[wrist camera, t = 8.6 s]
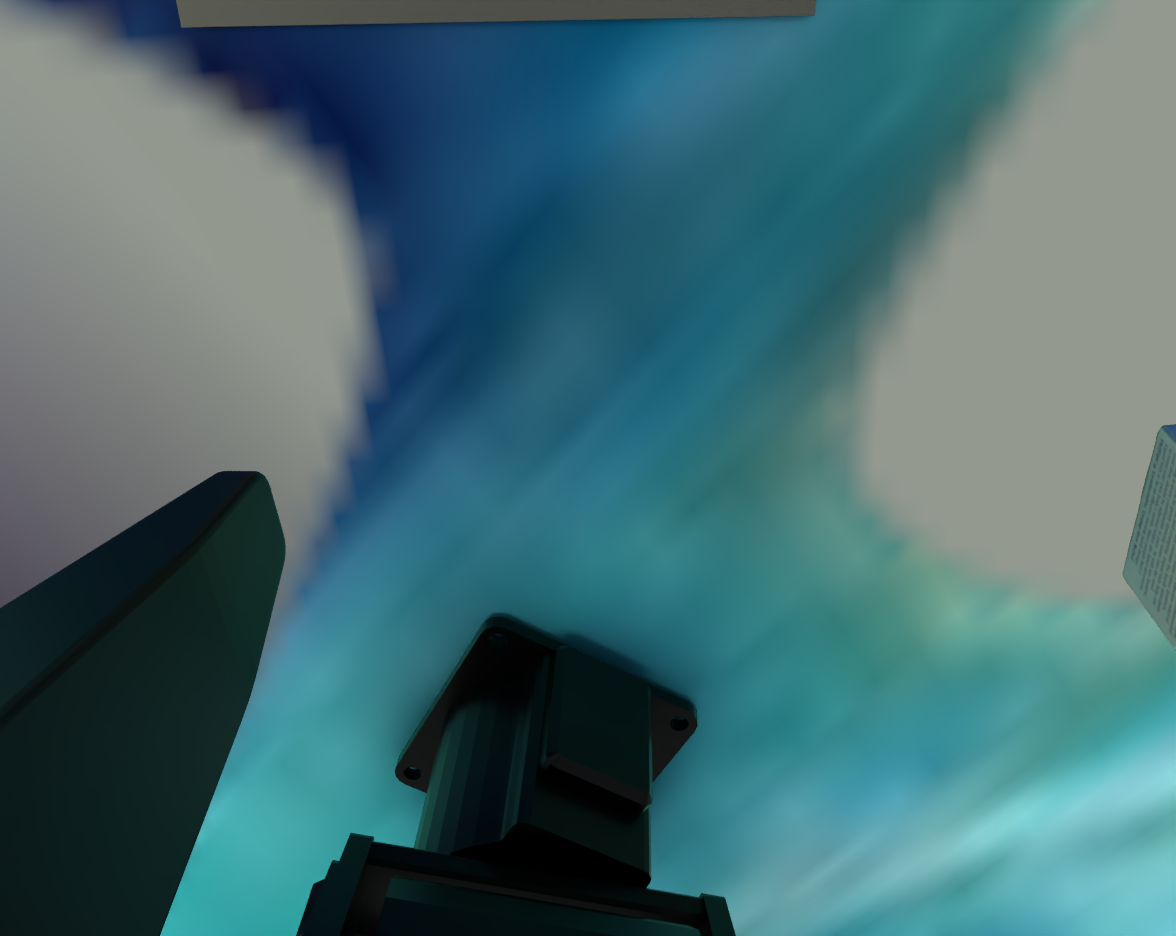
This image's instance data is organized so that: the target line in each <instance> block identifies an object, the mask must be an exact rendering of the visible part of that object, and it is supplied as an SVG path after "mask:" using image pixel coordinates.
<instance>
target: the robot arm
mask: <svg viewBox="0 0 1176 936" xmlns="http://www.w3.org/2000/svg"><path fill="white" fill-rule="evenodd" d="M284 561H285V539H284V534H283V531H282V527H281V523H280V520H279V516H278V513H277V509H276V506H275V502H274V499H273V495H272V492H271V488H270V485H269V483H268V481H267V479H266V477H265V476H264V475H263V474H261V473H260V472H257V471H222V472H218V473H216V474H214V475H213V476H212V477H210V478H208V479H206V480H205V481H203V482H202V483H200V484H198V485H197V486H195V487H194V488H192V489H190V490H189V491H187V492H186V493H184V494H182V495H181V496H179V497H177V498H176V499H174V500H173V501H171V502H169V503H168V504H167V505H165V506H163V507H161V508H160V509H158V510H157V511H155V512H153V513H152V514H150V515H149V516H147V517H145V518H144V519H142V520H141V521H139V522H137V523H136V524H134V525H133V526H131V527H129V528H128V529H126V530H125V531H123V532H121V533H120V534H118V535H117V536H115V537H113V538H112V539H110V540H109V541H107V542H105V543H104V544H102V545H100V546H99V547H97V548H96V549H94V550H93V551H91V552H89V553H88V554H86V555H84V556H83V557H81V558H80V559H78V560H76V561H75V562H73V563H72V564H70V565H68V566H67V567H66V568H64V569H62V570H60V571H59V572H57V573H56V574H54V575H53V576H51V577H49V578H48V579H46V580H44V581H43V582H41V583H40V584H38V585H36V586H35V587H33V588H32V589H30V590H28V591H27V592H25V593H23V594H22V595H20V596H19V597H17V598H16V599H14V600H12V601H11V602H9V603H7V604H6V605H4V606H3V607H1V608H0V936H160V934H161V931H162V929H163V926H164V923H165V921H166V918H167V915H168V913H169V910H170V908H171V905H172V902H173V900H174V897H175V894H176V892H177V889H178V887H179V884H180V881H181V879H182V876H183V873H184V871H185V868H186V866H187V863H188V860H189V858H190V855H191V852H192V850H193V847H194V845H195V842H196V839H197V837H198V834H199V831H200V829H201V826H202V824H203V821H204V818H205V816H206V813H207V810H208V808H209V805H210V803H211V800H212V797H213V795H214V792H215V789H216V787H217V784H218V781H219V779H220V776H221V774H222V771H223V768H224V766H225V763H226V760H227V758H228V755H229V753H230V750H231V747H232V745H233V742H234V739H235V737H236V734H237V732H238V729H239V726H240V724H241V721H242V718H243V716H244V713H245V710H246V707H247V704H248V701H249V698H250V696H251V692H252V688H253V685H254V681H255V678H256V674H257V670H258V666H259V662H260V658H261V654H262V650H263V646H264V642H265V638H266V634H267V630H268V626H269V622H270V618H271V614H272V610H273V606H274V602H275V598H276V594H277V590H278V586H279V582H280V578H281V574H282V570H283V566H284ZM494 634H500V635H503V636H504V637H506V639H502V640H498V639H495V638H494V637H492V635H494ZM675 717H684V718H685V719H684V720H679V721H678V720H674V719H673V718H675ZM697 726H698V725H697V710H696V709H695V707H694V705H692V704H691V703H690V702H688V701H686V700H684V699H681V698H679V697H677V696H675V695H673V694H671V693H668V692H666V691H664V690H662V689H660V688H657V687H655V686H653V685H651V684H649V683H647V682H646V681H644V680H642V679H640V678H637V677H635V676H633V675H631V674H629V673H627V672H624V671H622V670H620V669H618V668H616V667H614V666H611V665H609V664H607V663H605V662H603V661H600V660H598V659H596V658H594V657H592V656H590V655H587V654H585V653H583V652H581V651H579V650H576V649H574V648H572V647H569V646H566V645H564V644H562V643H559V642H557V641H555V640H553V639H551V638H548V637H546V636H544V635H542V634H540V633H538V632H535V631H533V630H531V629H529V628H527V627H524V626H522V625H520V624H518V623H516V622H514V621H511V620H509V619H506V618H503V617H493V618H491V619H488V620H487V621H486V622H485V623H484V624H483V625H482V626H481V628H480V629H479V631H478V633H477V634H476V636H475V637H474V639H473V641H472V642H471V644H470V645H469V647H468V648H467V650H466V652H465V653H464V655H463V656H462V658H461V659H460V661H459V663H458V664H457V666H456V667H455V669H454V671H453V672H452V674H451V675H450V677H449V678H448V680H447V682H446V683H445V685H444V686H443V688H442V689H441V691H440V693H439V694H438V696H437V697H436V699H435V701H434V702H433V704H432V705H431V707H430V708H429V710H428V712H427V713H426V715H425V716H424V718H423V720H422V721H421V723H420V724H419V726H418V727H417V729H416V731H415V732H414V734H413V735H412V737H411V738H410V740H409V742H408V743H407V745H406V746H405V748H404V750H403V751H402V753H401V754H400V756H399V759H398V762H397V766H396V769H395V774H396V777H397V778H398V779H399V781H401V782H402V783H404V784H406V785H408V786H411V787H413V788H416V789H418V790H421V791H423V792H425V793H427V794H426V798H425V803H424V807H423V811H422V815H421V819H420V824H419V828H418V832H417V836H416V841H415V845H414V848H410V847H404V846H398V845H392V844H386V843H381V842H375V841H374V837H372V836H366V835H361V834H355V833H350V836H349V838H348V841H347V843H346V846H345V848H344V851H343V853H342V856H341V858H340V861H336V860H333V861H332V862H331V865H330V867H329V870H328V872H327V875H326V877H325V879H323V880H321V881H319V882H317V883H315V884H313V887H312V890H311V893H310V896H309V899H308V902H307V905H306V908H305V911H304V914H303V917H302V920H301V923H300V926H299V929H298V932H297V934H296V936H736V935H735V932H734V928H733V925H732V921H731V917H730V914H729V910H728V907H727V903H726V900H725V898H724V897H720V896H715V895H709V894H703V893H702V894H701V895H700V896H699V897H694V896H689V895H683V894H677V893H671V892H665V891H660V890H654V889H648V888H647V886H648V885H649V884H650V881H651V827H650V805H651V803H652V800H653V784H652V783H653V781H654V780H655V779H656V778H657V776H658V775H659V774H660V773H661V772H662V770H663V769H664V768H665V767H666V766H667V764H668V763H669V762H670V761H671V759H672V758H673V757H674V756H675V755H676V753H677V752H678V751H679V750H680V749H681V747H682V746H683V745H684V744H685V743H686V741H687V740H688V739H689V738H690V736H691V735H692V734H693V733H694V732H695V730H696V728H697ZM410 767H415V768H417V769H411V768H410Z"/></svg>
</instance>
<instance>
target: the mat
mask: <svg viewBox="0 0 1176 936" xmlns="http://www.w3.org/2000/svg"><path fill="white" fill-rule="evenodd" d="M815 1H816V0H176V2H177V7H178V12H179V17H180V22H181V27H226V26H280V25H333V24H386V23H440V22H493V21H546V20H599V19H653V18H706V17H759V16H813V15H814V14H815Z"/></svg>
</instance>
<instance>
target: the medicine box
mask: <svg viewBox="0 0 1176 936" xmlns="http://www.w3.org/2000/svg"><path fill="white" fill-rule="evenodd" d="M1123 576H1124V579H1125V580H1126V582H1127V583H1128V585H1129V586H1130V587H1131V589H1132V590H1133V591H1134V593H1135V594H1136V595H1137V597H1138V598H1139V600H1140V601H1141V603H1142V604H1143V606H1144V607H1145V609H1146V610H1147V611H1148V613H1149V614H1150V615H1151V617H1152V618H1153V619H1154V621H1155V622H1156V624H1157V625H1158V627H1159V628H1160V629H1161V631H1162V632H1163V634H1164V635H1165V637H1166V638H1167V639H1168V641H1169V642H1170V644H1171V645H1172V646H1173V648H1174V649H1175V650H1176V425H1164V426H1162V427H1161V429H1160V430H1159V432H1158V433H1157V437H1156V442H1155V446H1154V450H1153V454H1152V458H1151V462H1150V465H1149V469H1148V472H1147V475H1146V479H1145V484H1144V487H1143V491H1142V496H1141V502H1140V505H1139V510H1138V514H1137V518H1136V521H1135V525H1134V529H1133V533H1132V537H1131V540H1130V545H1129V549H1128V553H1127V558H1126V562H1125V566H1124V570H1123Z"/></svg>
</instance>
